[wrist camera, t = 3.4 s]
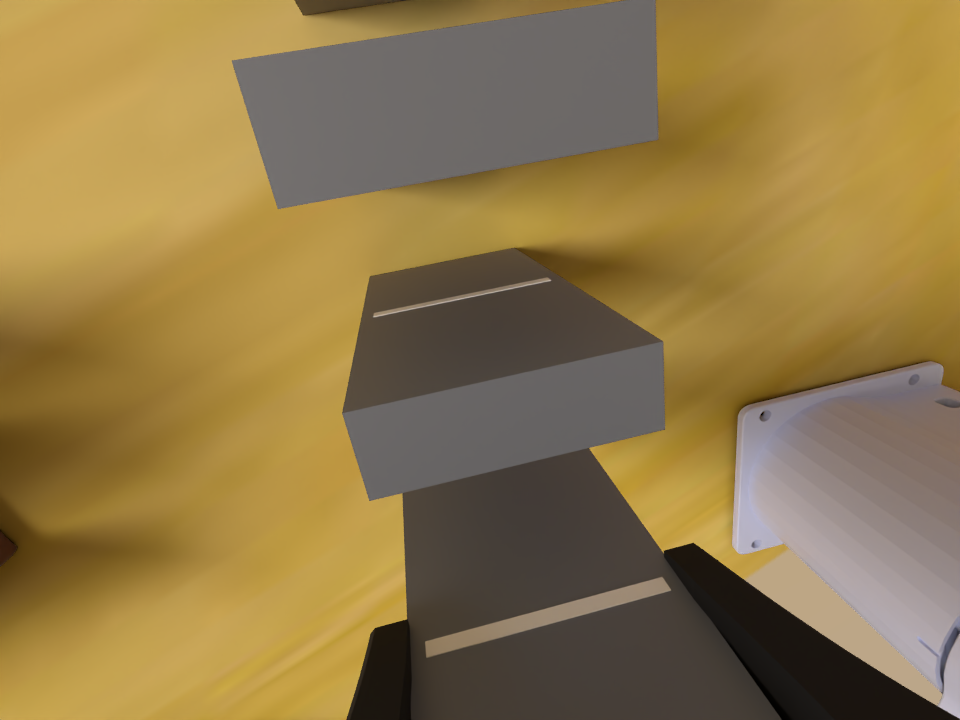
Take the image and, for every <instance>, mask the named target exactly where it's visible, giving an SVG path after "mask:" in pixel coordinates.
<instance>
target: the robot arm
mask: <svg viewBox="0 0 960 720" xmlns="http://www.w3.org/2000/svg"><path fill="white" fill-rule="evenodd" d="M943 373H944V368H943V366H942V365H941V364H939V363H936V362H933V361H928V362H924V363H920V364H916V365H912V366H907V367H903V368H899V369H895V370H891V371H887V372H882V373H878V374H874V375H870V376H866V377H862V378H858V379H853V380H849V381H845V382H841V383H837V384H833V385H828V386H824V387H820V388H816V389H812V390H808V391H804V392H799V393H795V394H791V395H787V396H783V397H779V398H775V399H770V400H766V401H762V402H758V403H754V404H750V405H747V406H745V407H744V408H743V409H741V411H740V412H739V415H738V427H737V449H736V471H735V493H734V515H733V537H732V546H733V548H734V549H735V550H736V551H737V552H738V553H739V554H748V553H751V552H755V551H759V550H762V549H766V548H770V547H773V546H777V545H781V544H785V545H786V546H787V547H788V548H789V549H790V550H791V551H792V552H794V553H795V554H796V555H797V556H798V557H799V558H800V559H801V560H802V561H803V562H804V563H805V564H806V565H807V566H808V567H809V568H810V569H811V570H812V571H814V572H815V573H816V574H817V575H818V576H819V577H820V578H821V579H822V580H823V581H824V582H825V583H826V584H827V585H828V586H829V587H830V588H831V589H833V590H834V591H835V592H836V593H837V594H838V595H839V596H840V597H841V598H842V599H843V600H844V601H845V602H846V603H847V604H848V605H849V606H851V608H853V609H854V610H855V611H856V612H857V613H858V614H859V615H860V616H861V617H862V618H863V619H864V620H865V621H866V622H867V623H868V624H869V625H870V626H872V627H873V628H874V629H875V630H876V631H877V632H878V633H879V634H880V635H881V636H882V637H883V638H884V639H885V640H886V641H887V642H888V643H889V644H890V645H891V646H893V647H894V648H895V649H896V650H897V651H898V652H899V653H900V654H901V655H902V656H903V657H904V658H905V659H906V660H907V661H908V662H910V664H911V665H913V666H914V667H915V668H916V669H917V670H918V671H919V672H920V673H921V674H922V675H923V676H924V677H925V678H926V679H927V680H928V681H929V682H930V683H932V684H933V685H934V686H935V687H936V688H937V689H938V690H939V691H940V692H941V693H942V694H943V695H942V697H941V700H940V702H939V704H938V705H937V706H936V705H935V704H933V703H931V702H929V701H927V700H926V699H924V698H922V697H921V696H919V695H917V694H916V693H914V692H912V691H911V690H909V689H907V688H905V687H904V686H902V685H901V684H899V683H897V682H896V681H894V680H893V679H891V678H889V677H888V676H886V675H884V674H883V673H881V672H880V671H878V670H877V669H875V668H873V667H872V666H870V665H868V664H867V663H865V662H864V661H862V660H861V659H859V658H858V657H856V656H854V655H853V654H851V653H850V652H848V651H847V650H845V649H843V648H842V647H840V646H839V645H837V644H836V643H834V642H833V641H831V640H830V639H828V638H827V637H825V636H824V635H822V634H820V633H819V632H818V631H816V630H815V629H813V628H812V627H811V626H809V625H807V624H806V623H805V622H803V621H802V620H800V619H799V618H797V617H796V616H794V615H793V614H791V613H790V612H789V611H787V610H786V609H784V608H783V607H781V606H780V605H778V604H777V603H776V602H774V601H773V600H771V599H770V598H768V597H767V596H766V595H764V594H763V593H761V592H760V591H759V590H757V589H756V588H755V587H753V586H752V585H750V584H749V583H748V582H746V581H745V580H744V579H742V578H741V577H739V576H738V575H737V574H735V573H734V572H733V571H731V570H730V569H729V568H727V567H726V566H724V565H723V564H722V563H720V562H719V561H718V560H716V559H715V558H714V557H712V556H711V555H710V554H708V553H707V552H705V551H704V550H703V549H701V548H700V547H699V546H697V545H695V544H694V543H691V544H687V545H684V546H680V547H676V548H673V549H669V550H665V551H664V558H665V559H666V561H667V562H668V563H669V565H670V566H671V568H672V569H673V571H674V572H675V573H676V575H677V576H678V578H679V579H680V580H681V582H682V583H683V585H684V586H685V588H686V589H687V590H688V592H689V593H690V595H691V596H692V597H693V599H694V600H695V601H696V603H697V604H698V605H699V606H700V607H701V609H702V610H703V611H704V612H705V613H706V615H707V616H708V617H709V618H710V619H711V621H712V622H713V624H714V625H715V627H716V628H717V629H718V631H719V632H720V634H721V635H722V636H723V638H724V639H725V641H726V642H727V643H728V645H729V646H730V648H731V649H732V650H733V652H734V653H735V655H736V656H737V657H738V659H739V660H740V662H741V663H742V664H743V666H744V667H745V669H746V670H747V671H748V673H749V674H750V676H751V677H752V679H753V680H754V681H755V683H756V684H757V686H758V687H759V688H760V690H761V691H762V693H763V694H764V695H765V697H766V698H767V700H768V701H769V702H770V704H771V705H772V707H773V708H774V709H775V711H776V712H777V714H778V715H779V716H780V718H781V719H782V720H960V392H959V391H957V390H954V389H951V388H949V387H946V386H944V385H941V382H942V378H943ZM762 412H764V413H763V415H762V416H760V414H761V413H762ZM411 685H412V671H411V647H410V625H409V622H408V619H407V620H403V621H400V622H396V623H392V624H388V625H385V626H381V627H377V628H375V629H374V630H373V632H372V633H371V634H370V639H369V643H368V647H367V651H366V655H365V659H364V663H363V666H362V670H361V673H360V677H359V680H358V684H357V687H356V691H355V694H354V697H353V700H352V703H351V707H350V710H349V713H348V716H347V719H346V720H411Z"/></svg>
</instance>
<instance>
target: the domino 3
mask: <svg viewBox="0 0 960 720" xmlns="http://www.w3.org/2000/svg"><path fill="white" fill-rule="evenodd" d="M403 517H404V544H405V571H406V598H407V619H408V622H409V625H410V647H411V671H412V685H411V720H782V719H781V718H780V716H779V715H778V714H777V712H776V711H775V709H774V708H773V707H772V705H771V704H770V702H769V701H768V700H767V698H766V697H765V695H764V694H763V693H762V691H761V690H760V688H759V687H758V686H757V684H756V683H755V681H754V680H753V679H752V677H751V676H750V674H749V673H748V671H747V670H746V669H745V667H744V666H743V664H742V663H741V662H740V660H739V659H738V657H737V656H736V655H735V653H734V652H733V650H732V649H731V648H730V646H729V645H728V643H727V642H726V641H725V639H724V638H723V636H722V635H721V634H720V632H719V631H718V629H717V628H716V627H715V625H714V624H713V622H712V621H711V619H710V618H709V617H708V616H707V615H706V613H705V612H704V611H703V610H702V609H701V607H700V606H699V605H698V604H697V603H696V601H695V600H694V599H693V597H692V596H691V595H690V593H689V592H688V590H687V589H686V588H685V586H684V585H683V583H682V582H681V580H680V579H679V578H678V576H677V575H676V573H675V572H674V571H673V569H672V568H671V566H670V565H669V563H668V562H667V561H666V559H665V558H664V553H663V552H662V551H661V549H660V548H659V546H658V545H657V544H656V542H655V541H654V539H653V538H652V537H651V535H650V534H649V532H648V531H647V530H646V528H645V527H644V525H643V524H642V522H641V521H640V520H639V518H638V517H637V515H636V514H635V513H634V511H633V510H632V508H631V507H630V506H629V504H628V503H627V501H626V500H625V499H624V497H623V496H622V494H621V493H620V492H619V490H618V489H617V487H616V486H615V485H614V483H613V482H612V480H611V479H610V477H609V476H608V475H607V473H606V472H605V470H604V469H603V468H602V466H601V465H600V463H599V462H598V461H597V459H596V458H595V456H594V455H593V454H592V452H591V451H590V449H589V448H586V449H582V450H578V451H574V452H570V453H565V454H561V455H557V456H553V457H549V458H545V459H541V460H537V461H532V462H528V463H524V464H520V465H516V466H512V467H508V468H503V469H499V470H495V471H491V472H487V473H483V474H479V475H475V476H470V477H466V478H462V479H458V480H454V481H450V482H446V483H441V484H437V485H433V486H429V487H425V488H421V489H417V490H413V491H408V492H404V493H403Z"/></svg>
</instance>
